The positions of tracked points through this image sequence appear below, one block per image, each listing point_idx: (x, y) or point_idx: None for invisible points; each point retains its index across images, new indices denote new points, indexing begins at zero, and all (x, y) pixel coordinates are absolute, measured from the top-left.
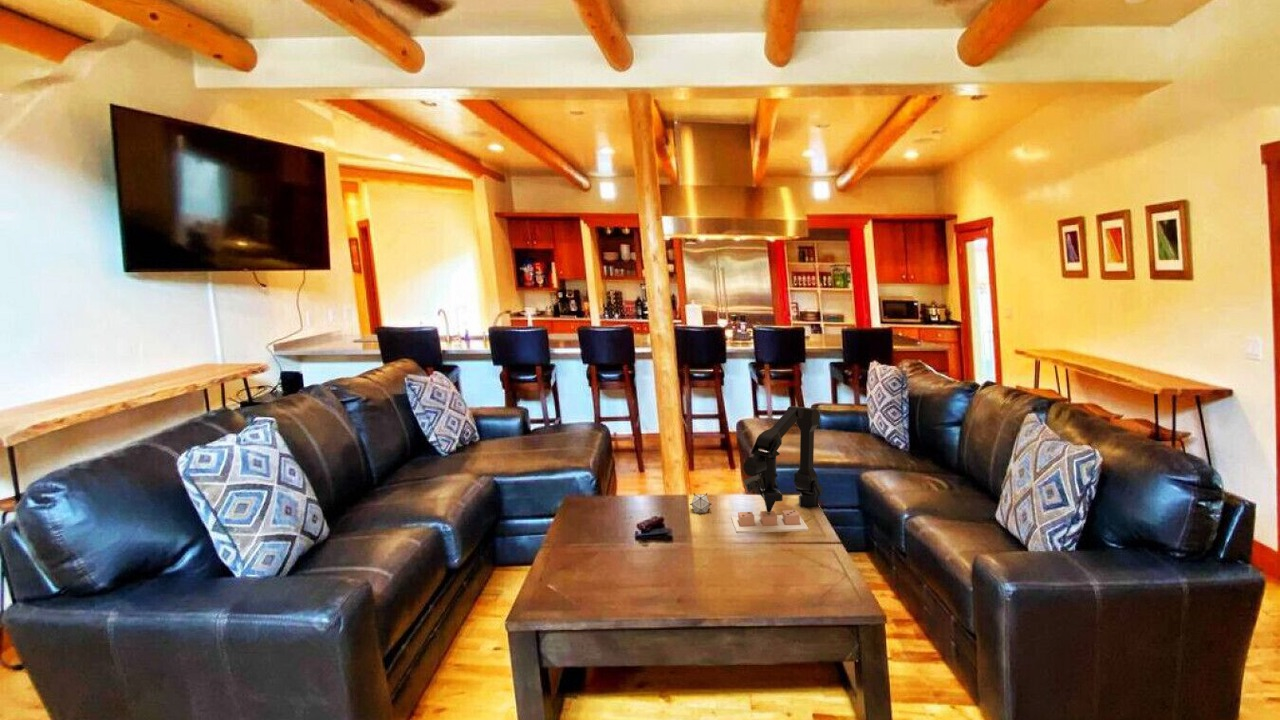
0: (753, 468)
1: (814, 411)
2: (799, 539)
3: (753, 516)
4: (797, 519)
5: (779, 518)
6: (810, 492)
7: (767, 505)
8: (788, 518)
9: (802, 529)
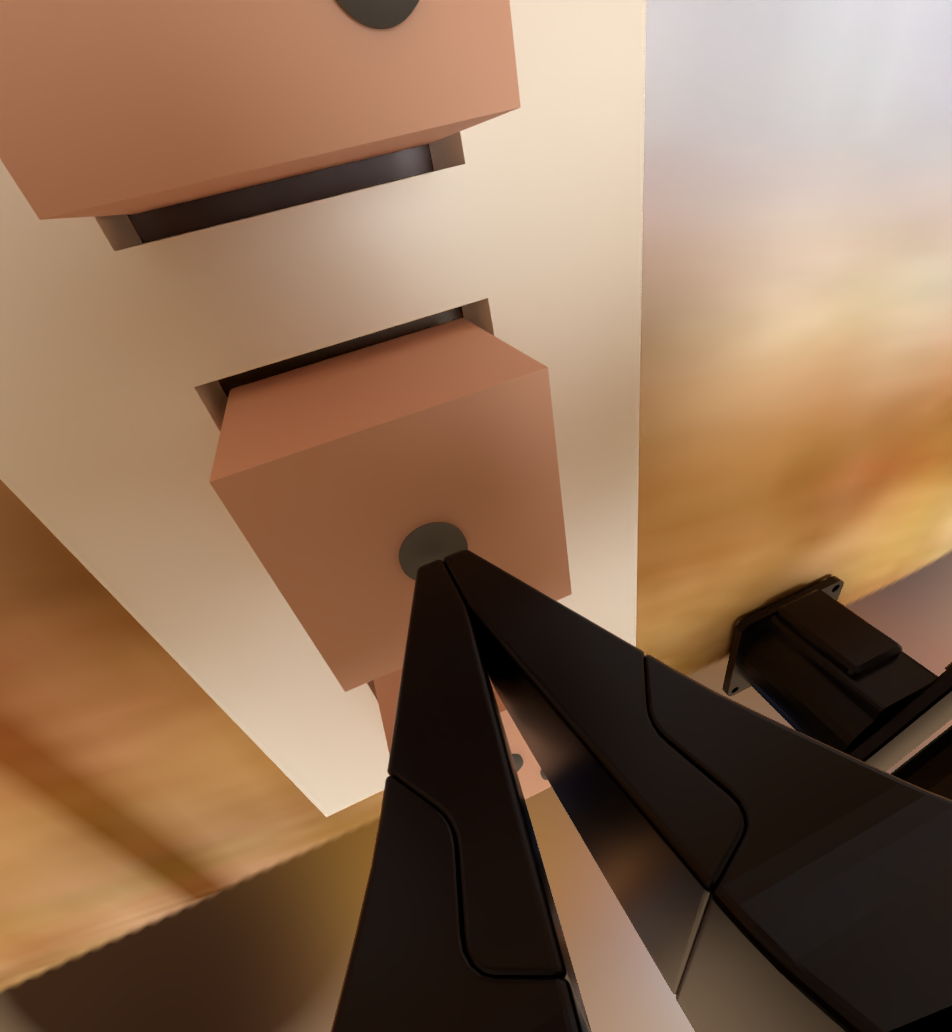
0: None
1: None
2: (157, 759)
3: (56, 174)
4: None
5: None
6: (877, 760)
7: (400, 751)
8: None
9: (302, 785)
